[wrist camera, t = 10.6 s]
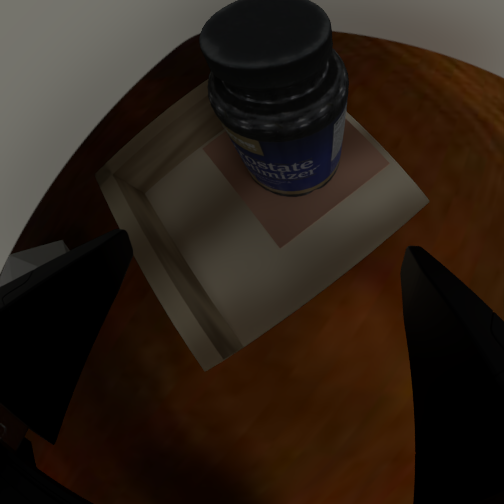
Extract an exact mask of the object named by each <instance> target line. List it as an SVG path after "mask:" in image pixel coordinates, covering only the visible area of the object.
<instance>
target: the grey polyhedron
mask: <svg viewBox="0 0 504 504" xmlns="http://www.w3.org/2000/svg"><path fill="white" fill-rule="evenodd" d="M68 251H70V250H69V249H68V247H67V246H66V244H65V243H64V241H63V240H60V241H56V242H53V243H49V244H46V245H42V246H38V247H35V248H31V249H28V250H25V251H21V252H18V253H14V254H11V255H9V257H8V260H7V262H6V264H5V267H4V269H3V271H2V274H1V276H0V287H1V286H3V285H5V284H7V283H9V282H11V281H13V280H15V279H16V278H18V277H20V276H22V275H24V274H26V273H28V272H30V271H31V270H35V268H37V267H39V266H41V265H43V264H45V263H47V262H49V261H51V260H53V259H54V258H56V257H58V256H60V255H62V254H64V253H66V252H68Z"/></svg>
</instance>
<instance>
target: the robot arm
mask: <svg viewBox="0 0 504 504" xmlns="http://www.w3.org/2000/svg"><path fill="white" fill-rule="evenodd" d="M132 257H133V248H132V244H131V241H130V238H129V235H128V232H127V231H126V230H124V229H115V230H113V231H110V232H108V233H106V234H104V235H102V236H100V237H97V238H95V239H93V240H91V241H89V242H87V243H85V244H83V245H81V246H79V247H77V248H75V249H72V250H70V251H68V252H66V253H64V254H62V255H60V256H58V257H56V258H54V259H53V260H51V261H49V262H47V263H45V264H43V265H41V266H39V267H37V268H35V270H31V271H30V272H28V273H26V274H24V275H22V276H20V277H18V278H16V279H15V280H13V281H11V282H9V283H7V284H5V285H3V286H1V287H0V504H93V503H91V502H89V501H88V500H86V499H84V498H82V497H81V496H79V495H77V494H76V493H74V492H72V491H71V490H69V489H67V488H66V487H64V486H63V485H61V484H60V483H58V482H57V481H55V480H54V479H52V478H51V477H49V476H48V475H46V474H45V473H43V472H42V471H41V470H39V469H38V468H37V467H36V463H35V459H34V454H33V449H32V444H31V441H29V440H28V439H26V438H25V435H26V433H27V431H28V429H30V430H32V431H33V432H35V433H36V434H38V435H39V436H41V437H42V438H44V439H45V440H47V441H48V442H50V443H51V444H53V445H54V444H55V442H56V440H57V437H58V434H59V431H60V428H61V425H62V422H63V419H64V416H65V413H66V411H67V408H68V405H69V403H70V400H71V397H72V395H73V392H74V389H75V386H76V384H77V381H78V379H79V376H80V374H81V372H82V369H83V367H84V364H85V362H86V360H87V357H88V355H89V353H90V350H91V348H92V346H93V344H94V341H95V339H96V337H97V335H98V333H99V331H100V328H101V326H102V324H103V322H104V320H105V318H106V316H107V314H108V312H109V309H110V307H111V305H112V303H113V301H114V299H115V297H116V295H117V293H118V291H119V289H120V286H121V284H122V281H123V279H124V276H125V274H126V271H127V269H128V266H129V264H130V262H131V259H132ZM401 286H402V300H403V316H404V325H405V331H406V338H407V345H408V352H409V360H410V369H411V378H412V389H413V402H414V419H415V452H416V454H415V485H414V502H413V504H504V321H503V320H502V319H501V318H500V317H499V316H498V315H497V314H496V313H495V312H493V310H492V309H491V308H490V307H489V306H487V305H486V304H485V303H484V302H483V301H482V300H481V299H480V298H479V297H478V296H477V295H476V294H475V293H474V292H473V291H472V290H470V289H469V288H468V287H467V286H466V285H465V284H464V283H463V282H462V281H461V280H459V279H458V278H457V277H456V276H455V275H454V274H453V273H452V272H450V271H449V270H448V269H447V268H446V267H445V266H443V265H442V264H441V263H440V262H439V261H437V260H436V259H435V258H434V257H433V256H432V255H430V254H429V253H428V252H427V251H425V250H424V249H423V248H422V247H420V246H408V247H407V249H406V252H405V256H404V260H403V263H402V267H401Z"/></svg>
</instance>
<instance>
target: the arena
mask: <svg viewBox="0 0 504 504" xmlns="http://www.w3.org/2000/svg"><path fill="white" fill-rule="evenodd" d="M208 80H209V79H208ZM208 80H206V81H205V82H203V83H202V84H200V85H199V86H198V87H196V88H195V89H193V90H192V91H191V92H189V93H188V94H187V95H185V96H184V97H183V98H181V99H180V100H179V101H177V102H176V103H175V104H174V105H172V106H171V107H170V108H168V109H167V110H166V111H165V112H163V113H162V114H161V115H160V116H158V117H157V118H156V119H155V120H154V121H152V122H151V123H150V124H149V125H148V126H146V127H145V128H144V129H143V130H142V131H141V132H139V133H138V134H137V135H136V136H135V137H134V138H133V139H131V140H130V141H129V142H128V143H127V144H126V145H125V146H124V147H123V148H122V149H120V150H119V151H118V152H117V153H116V154H115V155H114V156H113V157H112V158H111V159H110V160H109V161H108V162H107V163H106V164H105V165H104V166H103V167H102V168H101V169H100V170H99V171H98V172H97V173H96V174H95V177H96V180H97V182H98V184H99V186H100V188H101V191H102V193H103V195H104V197H105V199H106V201H107V203H108V206H109V208H110V210H111V212H112V214H113V216H114V218H115V220H116V222H117V224H118V226H119V228H120V229H124V230H126V231H127V232H128V235H129V238H130V241H131V244H132V248H133V255H134V257H135V259H136V261H137V262H138V264H139V266H140V268H141V270H142V271H143V273H144V275H145V277H146V279H147V280H148V282H149V284H150V286H151V287H152V289H153V291H154V293H155V294H156V296H157V298H158V299H159V301H160V303H161V304H162V306H163V308H164V309H165V311H166V313H167V314H168V316H169V318H170V319H171V321H172V322H173V324H174V326H175V327H176V329H177V330H178V332H179V334H180V335H181V337H182V338H183V340H184V341H185V343H186V344H187V346H188V347H189V349H190V350H191V352H192V353H193V355H194V356H195V358H196V359H197V361H198V362H199V364H200V365H201V367H202V368H203V370H204V371H207V370H209V369H210V368H212V367H214V366H215V365H217V364H219V363H220V362H222V361H223V360H225V359H227V358H228V357H230V356H231V355H233V354H234V353H236V352H237V351H239V350H240V349H242V348H243V347H245V346H246V345H248V344H249V343H251V342H252V341H253V340H255V339H256V338H258V337H259V336H261V335H262V334H264V333H265V332H266V331H268V330H269V329H271V328H272V327H274V326H275V325H276V324H278V323H279V322H281V321H282V320H283V319H285V318H286V317H288V316H289V315H290V314H292V313H293V312H294V311H296V310H297V309H299V308H300V307H301V306H303V305H304V304H305V303H307V302H308V301H309V300H311V299H312V298H313V297H315V296H316V295H317V294H319V293H320V292H321V291H323V290H324V289H325V288H326V287H328V286H329V285H330V284H332V283H333V282H334V281H336V280H337V279H338V278H339V277H341V276H342V275H343V274H344V273H346V272H347V271H348V270H350V269H351V268H352V267H353V266H355V265H356V264H357V263H358V262H359V261H361V260H362V259H363V258H364V257H366V256H367V255H368V254H369V253H371V252H372V251H373V250H374V249H375V248H377V247H378V246H379V245H380V244H381V243H383V242H384V241H385V240H386V239H387V238H389V237H390V236H391V235H392V234H393V233H394V232H396V231H397V230H398V229H399V228H400V227H401V226H403V225H404V224H405V223H406V222H407V221H408V220H409V219H411V218H412V217H413V216H414V215H415V214H416V213H417V212H418V211H420V210H421V209H422V208H423V207H424V206H425V205H426V204H427V203H428V202H429V200H428V198H427V197H426V196H425V195H424V193H423V192H422V191H421V190H420V189H419V187H418V186H417V185H416V184H415V183H414V181H413V180H412V179H411V178H410V177H409V176H408V174H407V173H406V172H405V171H404V170H403V169H402V168H401V167H400V165H399V164H398V163H397V162H396V161H395V160H394V159H393V158H392V157H391V156H390V154H389V153H388V152H387V151H386V150H385V149H384V148H383V147H382V146H381V145H380V144H379V143H378V142H377V141H376V140H375V139H374V138H373V137H372V136H371V135H370V134H369V133H368V132H367V131H366V130H365V129H364V128H363V127H362V126H361V125H360V124H359V123H358V122H357V121H356V120H355V119H354V118H353V117H352V116H350V115H349V114H348V113H347V112H346V116H345V127H344V135H343V141H342V149H341V158H340V163H339V166H338V169H337V171H336V173H335V175H334V176H333V177H332V179H331V180H330V181H329V182H328V183H327V184H326V185H325V186H324V187H322V188H320V189H316V190H314V191H313V192H311V193H309V194H307V195H304V196H299V197H286V196H280V195H276V194H274V193H272V192H270V191H267V190H265V189H264V188H263V187H261V186H260V185H259V184H257V183H256V182H255V181H254V179H253V178H252V176H251V175H250V173H249V171H248V169H247V167H246V166H245V164H244V162H243V160H242V159H241V157H240V155H239V153H238V152H237V150H236V148H235V146H234V145H233V143H232V141H231V139H230V138H229V136H228V134H227V132H226V131H225V129H224V127H223V126H222V124H221V122H220V120H219V119H218V117H217V116H216V114H215V112H214V110H213V108H212V107H211V103H210V101H209V97H208V88H207V87H208Z"/></svg>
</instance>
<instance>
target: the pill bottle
mask: <svg viewBox="0 0 504 504" xmlns="http://www.w3.org/2000/svg"><path fill="white" fill-rule="evenodd" d="M199 42H200V47H201V50H202V52H203V54H204V56H205V58H206V61H207V63H208V66H209V68H210V70H211V73H210V75H209V80H208V87H207V88H208V97H209V101H210V103H211V107H212V108H213V110H214V112H215V114H216V116H217V117H218V119H219V120H220V122H221V124H222V126H223V127H224V129H225V131H226V132H227V134H228V136H229V138H230V139H231V141H232V143H233V145H234V146H235V148H236V150H237V152H238V153H239V155H240V157H241V159H242V160H243V162H244V164H245V166H246V167H247V169H248V171H249V173H250V175H251V176H252V178H253V179H254V181H255V182H256V183H257V184H259V185H260V186H261V187H263V188H264V189H265V190H267V191H270V192H272V193H274V194H276V195H280V196H286V197H299V196H304V195H307V194H309V193H311V192H313V191H314V190H316V189H320V188H322V187H324V186H325V185H326V184H327V183H328V182H329V181H330V180H331V179H332V177H333V176H334V175H335V173H336V171H337V169H338V166H339V163H340V158H341V149H342V141H343V135H344V127H345V116H346V107H347V98H348V86H349V81H348V73H347V70H346V68H345V65H344V63H343V61H342V59H341V58H340V57H339V55H338V54H337V53H336V51H335V50H334V49H333V48H332V46H333V43H332V30H331V23H330V20H329V18H328V16H327V14H326V13H325V12H324V10H323V9H322V8H320V7H319V6H318V5H316V4H315V3H313V2H311V1H309V0H238V1H235V2H234V3H231V4H229V5H228V6H226V7H224V8H222V9H221V10H219V11H218V12H216V13H215V14H214V15H213V16H212V17H211V18H210V19H209V20H208V21H207V22H206V24H205V25H204V27H203V28H202V31H201V33H200V38H199Z"/></svg>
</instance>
